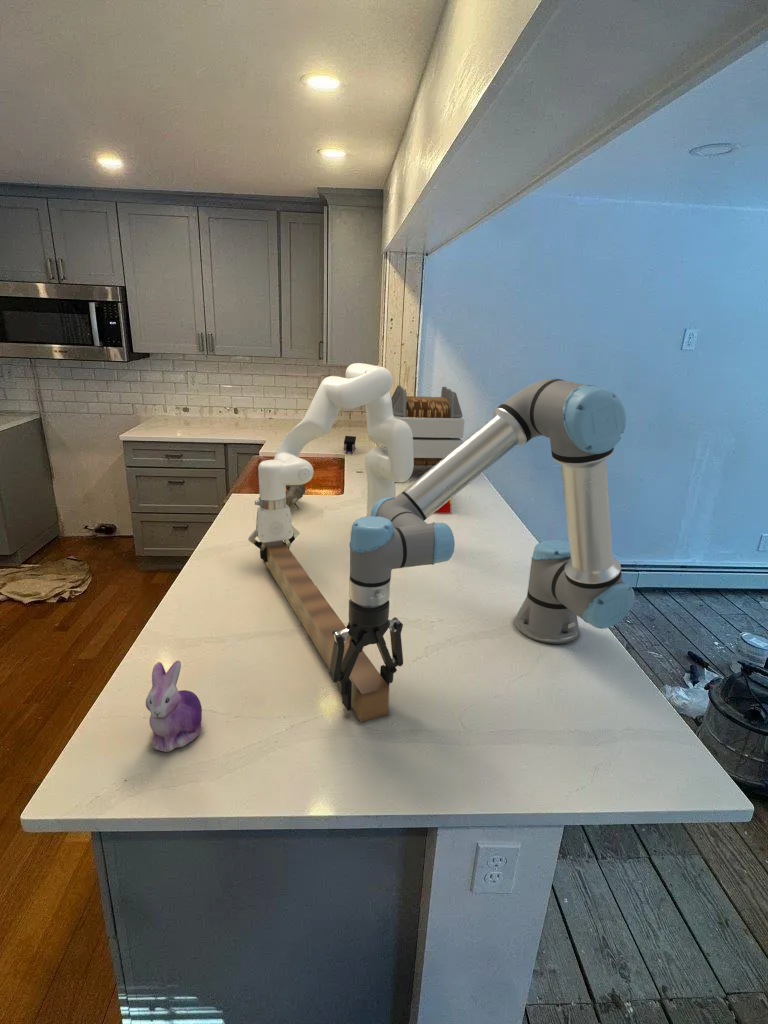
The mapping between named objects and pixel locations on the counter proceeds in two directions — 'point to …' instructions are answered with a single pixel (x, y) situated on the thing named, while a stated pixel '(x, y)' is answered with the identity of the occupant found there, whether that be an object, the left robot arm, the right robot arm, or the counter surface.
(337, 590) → the counter surface
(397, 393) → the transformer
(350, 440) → the figurine character
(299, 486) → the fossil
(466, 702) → the counter surface
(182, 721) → the figurine
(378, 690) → the post
